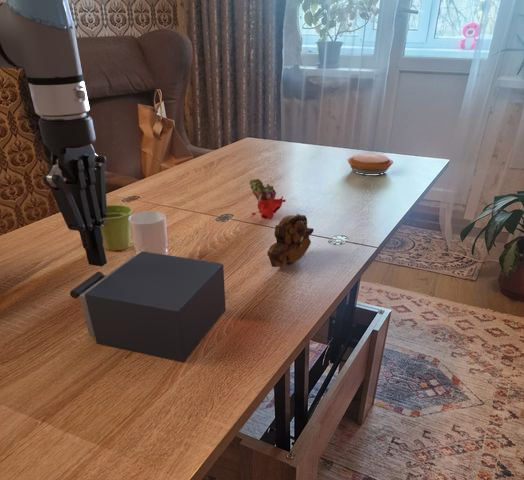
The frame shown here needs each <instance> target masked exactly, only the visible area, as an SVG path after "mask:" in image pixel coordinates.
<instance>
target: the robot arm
mask: <svg viewBox="0 0 524 480" xmlns="http://www.w3.org/2000/svg"><path fill="white" fill-rule="evenodd" d="M75 27H76V25H75V21H74V19H73V16H72V13H71V8H70V3H69V0H5V2H0V69H6V68H7V69H10V68H11V69H13V68H14V69H16V68H17V69H24V73H25V77H26V78H27V83H28V84H27V85H28V88H29V92H30V96H31V100H32V104H33V108H34V113H35V114H36V115H37V116H39V117H40V118H39V119H38V121H37V123H38V127H39V131H40V134H41V138H42V141H43V145H44V146H46V147H47V148H48V149H49V151H50V163H51V166H52V167H51V169H50V170H49V172H48V173H43V174H42V177H41V179H42V181H43V183H44V184H45V185H46V186H47V188H49V189H50V192H51V194H52V196H53V198H54V201H55V203H56V205H57V206H58V209H59V211H60V214H61V215H62V217H63V220H64V222H65V224H66V227H67V229H68V230H70V231H76V232H79V235H80V240H81V243H82V248H83V249H84V251H85V254H86V255H85V256H86V258H87V262H88V265H89V266H95V267H104V266H105V265H107V264H108V261H107V257H106V252H105V248H104V245H103V236H102V231H101V227H100V226H105V224H106V221H102V219H103V218H106V217H107V205H108V202H107V187H106V186H107V185H106V184H107V183H106V167H107V157H106V156H104V155H99V154H97V153H96V151H95V148H94V146H93V145H92V144H94V143H96V139H97V136H96V132H95V127H94V121H93V118H92V116H91V115H90V114H88V112H89V111H90V110H91V108H90V104H89V99H88V94H87V89H86V84H85V79H84V75H83V70H82V65H81V59H80V53H79V48H78V47H79V46H78V42H77V36H76V30H75V29H76V28H75ZM99 209H100V210H99Z"/></svg>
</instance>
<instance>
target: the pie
mask: <svg viewBox="0 0 524 480" xmlns="http://www.w3.org/2000/svg"><path fill="white" fill-rule="evenodd" d="M347 162H348V164H349V166H350V168H351V170H352V172H353V171H355V172H358V173H363V174H381V173H384V172H385V173H386V172H387V171H388V170H389V169H390V167H391V166H392V165H393V164H394V160H393V159H391V158H389V156H387V155H383V154H377V153H358V154H355V155H352V156H350V157H349V158H348V159H347ZM385 173H384V174H385Z"/></svg>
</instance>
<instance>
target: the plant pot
mask: <svg viewBox="0 0 524 480" xmlns="http://www.w3.org/2000/svg"><path fill="white" fill-rule="evenodd" d="M99 210H100V209H99ZM132 212H133V209H132V207H130V206H128V205H124V204H107V217H106V218H103V219H102V221H106V224H105V226H100V227H101V231H102V236H103V247H104V250H106V251H109V252H110V251H111V252H115V251H118V250H119V251H124V250H126V249H128V248H129V247H130V246H131V229H130V224H129V220H128V218H129V217H130V216H131V215H132Z"/></svg>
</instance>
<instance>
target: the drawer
mask: <svg viewBox="0 0 524 480" xmlns="http://www.w3.org/2000/svg"><path fill="white" fill-rule="evenodd" d="M135 256H136V255H132V256H131V257H129V258H128V259H127V260H126V261H124V262H123V263H121V264H120V265H119V266H117V267H116V268H114V269H113V270H112V271H110V272H109V273H108V274H104V273H103V272H102V271H97V272H95V273H94V274H92V275H90V276H89V277H88V278H87V279H85V280H84V281H83V282H81V283H80V284H79V285H77V286H75V287H74V288H73V289H71V290H70V291H69V295H70V297H71V298H72V299H75V300H76V299H78V298H79V300H80V305H81V309H82V312H83V316H84V320H85V324H86V328H87V333H88V335H89V336H90V337H95V335H94V331H93V327H92V323H91V319H90V314H89V310H88V306H87V302H86V298H85V293H87V292H88V291H89V290H91V289H92V288H93V287H95V286H96V285H97V284H99V283H100V282H101V281H103V280H104V279H106V278H107V277H108V276H110V275H111V274H112V273H114V272H115V271H116V270H118V269H119V268H120V267H122V266H123V265H124V264H126V263H127V262H128V261H130V260H131V259H132V258H134V257H135Z"/></svg>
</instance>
